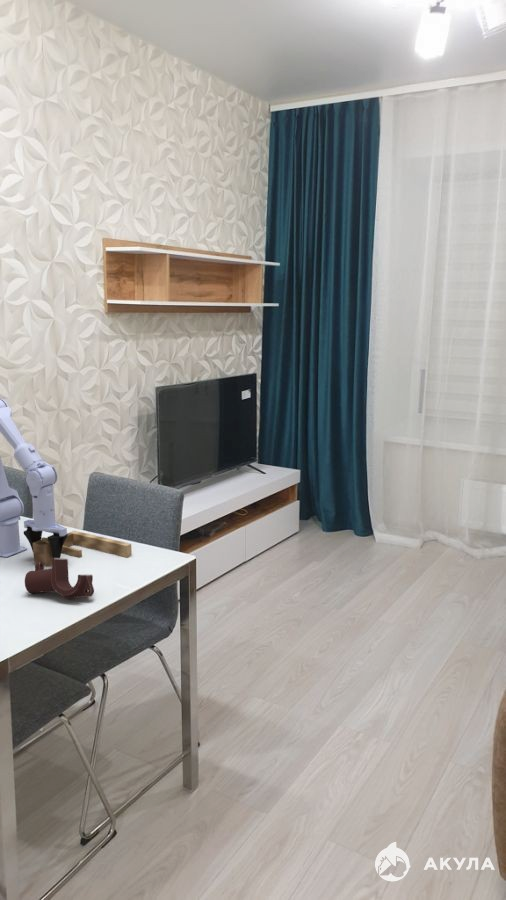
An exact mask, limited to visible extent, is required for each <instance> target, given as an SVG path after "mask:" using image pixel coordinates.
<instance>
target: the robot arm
mask: <svg viewBox="0 0 506 900" xmlns="http://www.w3.org/2000/svg"><path fill="white" fill-rule="evenodd" d="M0 434H2V436H3V437H4V438H5V440H6V441H7V442H8V443H9V444H10V446H11V447H12V448H13V450H14V453H13V457H14V459H16V461H17V463H18V464H19V465H20V467H21V469H22V470H23V471H24V473H25V474H26V478H25V481H26V485H27V486H28V489H29V494H30V495H31V499H32V500H31V501H32V514H33V515H32V516H33V519H27V520H24V521H23V528H24V529H26V530H24V531H23V535H24V537H26V539H27V540H28V543H29V544H30V548H31V551H32V552H33V543H34V542H36V541H39V540H41V539H42V538H43V537H42V535H43V532H46V533H50V534H51V535H49V536H47V537H46V538H48V540H49V542H50V545H51V549H52V557H53V558H61V556H62V553H61V551H62V547H63V544H64V542H65V540H66V538H67V536H68V534H67V533H68V530H67V527H65V526H63V525H60V524H59V523H57V522H56V509H55V494H54V493H55V492H54V485H56V483H57V481H58V473H57V471H56V469H55V466H53V464H49V463H48V462H47V461H44V460H43V457H41V455H40V454H39V452H38V451H37V449H36V447H35V446H34V445H33V444H32V443H26V441H25V439H24V438H23V435H22V434H21V433H20V431H19V429H18V427H17V425H16V424H15V422H14V421H13V418H12V409H11V407H10V406H9V404H8V402H7V401H6V400H4V398H0ZM5 472H6V471H5V468H4V464H3V462H2V457H1V456H0V557H3V558H8V557H11V556H14V555H16V554H18V553H21V552H23V551H27V549H28V547H26V546H22V545H21V538H20V525H19V521H21V516H23V515H24V512H25V506H24V503H23V501H22V499H21V498H20V496H19V493H18V491H17V490H16V489H14V488H12V487H11V486H9V483H8V479H7V475H6V473H5Z"/></svg>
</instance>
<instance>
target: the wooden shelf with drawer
mask: <svg viewBox="0 0 506 900" xmlns="http://www.w3.org/2000/svg"><path fill="white" fill-rule="evenodd" d="M67 534H68V536H67V538H66V540H65V542H64V544H63V547H62V551H61V554H63V555H68V556H71V557H76V558H78V559H79V558H82V557H83V550H82V549H79V548H76V547H75V548H74V547H72V546H73V545H75V546H79V547H82V548H86V549H90V550H95V551H99V552H102V553H108V554H110V555H114V554H115V556H119V557H124V558H129V557H132V554H133V553H132V543H129V542H125V541H121V540H116V539H113V538H109V537H108V538H107V537H104V536H98V535H94V534H90V533H86V532H80V531H77V530H72V531H70V532H67Z"/></svg>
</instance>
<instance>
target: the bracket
mask: <svg viewBox="0 0 506 900" xmlns="http://www.w3.org/2000/svg"><path fill="white" fill-rule="evenodd" d="M93 578H94V576H93V574H78V575H77V580H76V583H75V584H74V586H72V585H71V583H70V580H69V559H68V558H63V557H62V558H61V557H60V558H52V565H51V568H46V569H45V566H44V564H43V562H36V563H34V570H29V571H28V572H26V574H25V576H24V586H25V589H26V591H27V592H28V593H29V594H36V593H44V592H45V593H46V592H47V593H48V592H54V591H55V592H56V593H57V594H58V595H61V596H62V598H64V599H74V598H82V597H83V598H84V597H92V596H93V595H94V593H95V588H94V585H93Z"/></svg>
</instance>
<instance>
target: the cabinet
mask: <svg viewBox="0 0 506 900" xmlns="http://www.w3.org/2000/svg"><path fill="white" fill-rule="evenodd" d="M32 554H33V564H35V563H36V562H43V564H44V567H47V568H48V567H49V566H52V558H53V557H52V549H51V545H50V542H49V540H48V538H47V537H41V540H39V541H36V542H34V543H33V551H32Z"/></svg>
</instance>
